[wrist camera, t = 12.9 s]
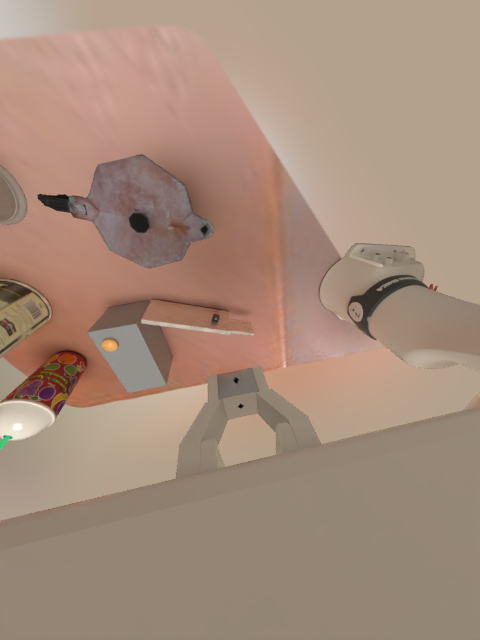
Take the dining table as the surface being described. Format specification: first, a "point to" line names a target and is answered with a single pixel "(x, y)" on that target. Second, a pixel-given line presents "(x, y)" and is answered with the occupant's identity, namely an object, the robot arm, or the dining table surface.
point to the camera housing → (132, 347)
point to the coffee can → (20, 313)
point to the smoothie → (40, 397)
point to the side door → (194, 318)
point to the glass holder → (11, 199)
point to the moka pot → (137, 211)
